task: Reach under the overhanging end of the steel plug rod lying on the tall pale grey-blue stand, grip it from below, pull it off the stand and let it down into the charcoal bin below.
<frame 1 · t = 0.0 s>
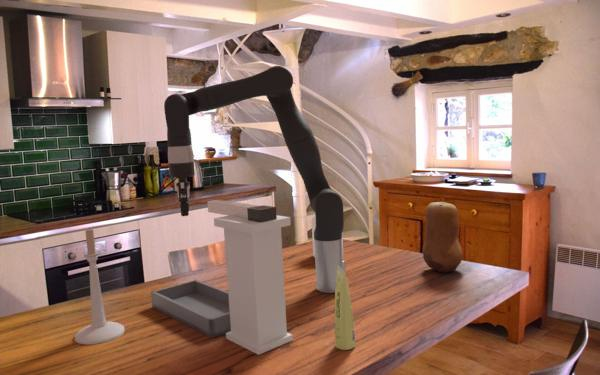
hand: (185, 213, 154), 29 cm above the table, tool pointing down, fingers open, 8 cm apart
butternut squash: (442, 271, 180), on the table
plug rod: (233, 214, 132), point 32 cm above the table, touching stand
candlestick: (100, 335, 139), on the table
bin: (203, 313, 150), on the table
can: (328, 257, 208), on the table
stand: (259, 339, 130), on the table
tube: (345, 346, 124), on the table
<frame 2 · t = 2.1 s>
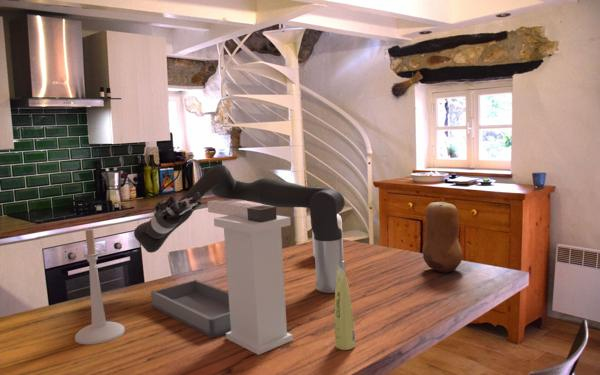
hand: (186, 196, 149), 35 cm above the table, tool pointing upward, fingers open, 8 cm apart
nothing on the table moved.
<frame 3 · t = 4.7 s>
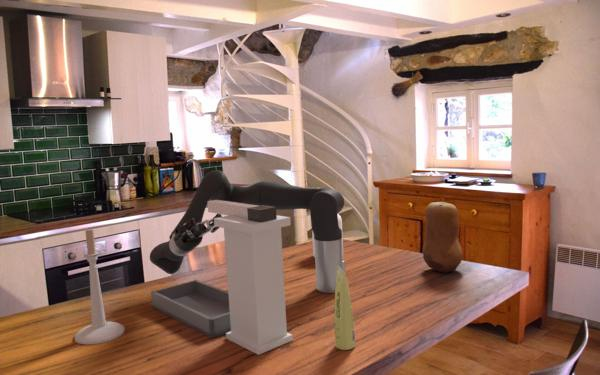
hand: (207, 218, 142), 30 cm above the table, tool pointing upward, fingers open, 8 cm apart
nothing on the table moved.
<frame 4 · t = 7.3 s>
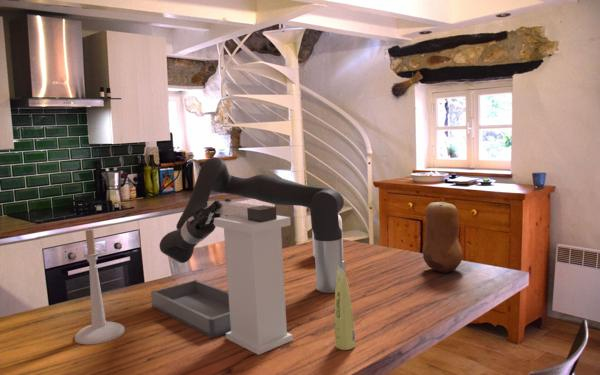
hand: (224, 202, 135), 35 cm above the table, tool pointing upward, fingers closed on plug rod, 3 cm apart
plug rod: (233, 214, 132), point 32 cm above the table, touching gripper, stand
everything else where it was.
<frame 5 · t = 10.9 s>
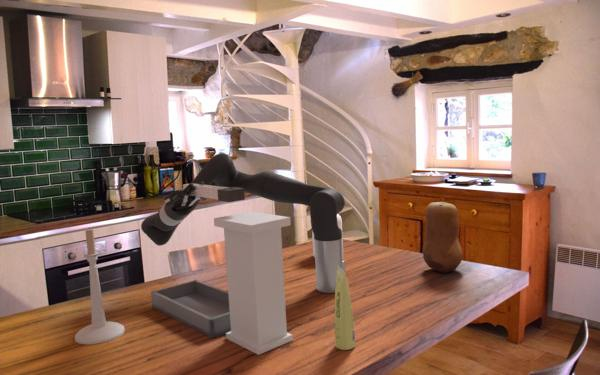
hand: (198, 185, 144), 39 cm above the table, tool pointing upward, fingers closed on plug rod, 3 cm apart
plug rod: (206, 196, 141), point 36 cm above the table, touching gripper
everything else where it was.
when the fingers open (26 cm above the table, at t = 15.0 s): plug rod drops 22 cm, resting on bin.
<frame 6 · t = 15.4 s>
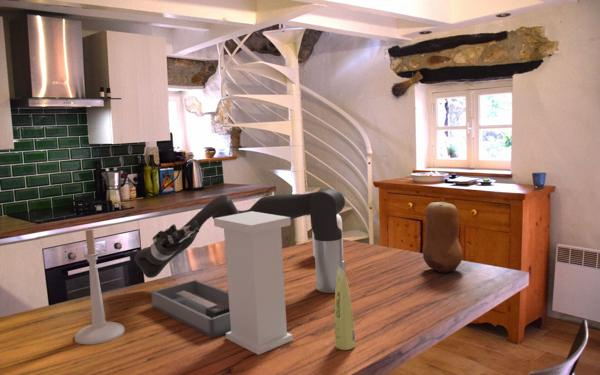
hand: (185, 225, 152), 26 cm above the table, tool pointing upward, fingers open, 6 cm apart
plug rod: (196, 308, 152), point 1 cm above the table, touching bin
everything else where it was.
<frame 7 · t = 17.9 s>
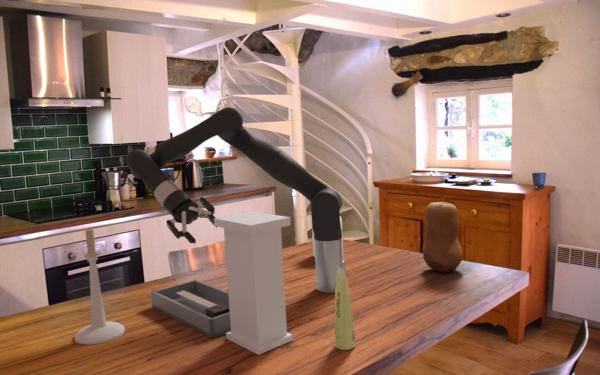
hand: (206, 233, 149), 24 cm above the table, tool tilted 50°, fingers open, 8 cm apart
nothing on the table moved.
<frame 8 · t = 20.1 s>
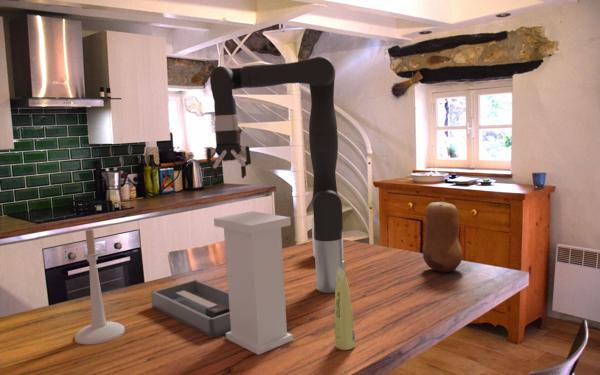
hand: (230, 178, 166), 38 cm above the table, tool pointing down, fingers open, 8 cm apart
nothing on the table moved.
at the end: plug rod inside the target area on the bin (3.3 cm from its centre), point 1.0 cm above the bin's base; the gripper is holding nothing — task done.
